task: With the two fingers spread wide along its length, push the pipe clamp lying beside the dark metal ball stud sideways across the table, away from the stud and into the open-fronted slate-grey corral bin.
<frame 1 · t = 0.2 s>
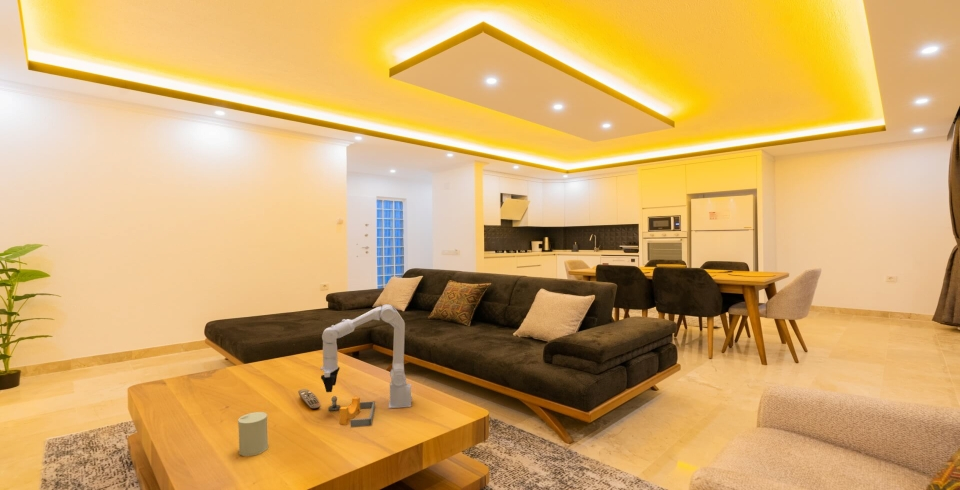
hand: (330, 388, 184), 10 cm above the table, tool pointing down, fingers open, 7 cm apart
bin: (362, 416, 179), on the table
pipe clamp: (348, 418, 178), on the table
ball stud: (334, 409, 187), on the table
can: (253, 450, 153), on the table
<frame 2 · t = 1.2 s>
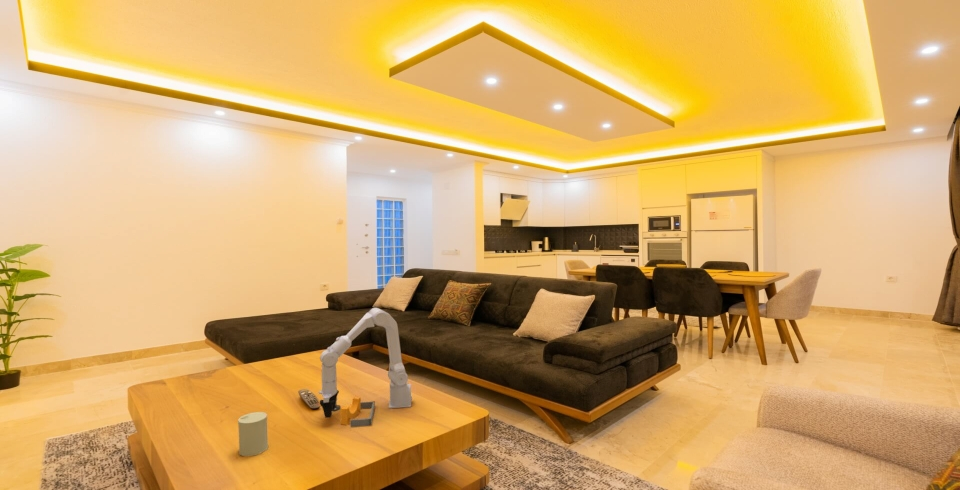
hand: (329, 413, 177), 2 cm above the table, tool pointing down, fingers open, 7 cm apart
nothing on the table moved.
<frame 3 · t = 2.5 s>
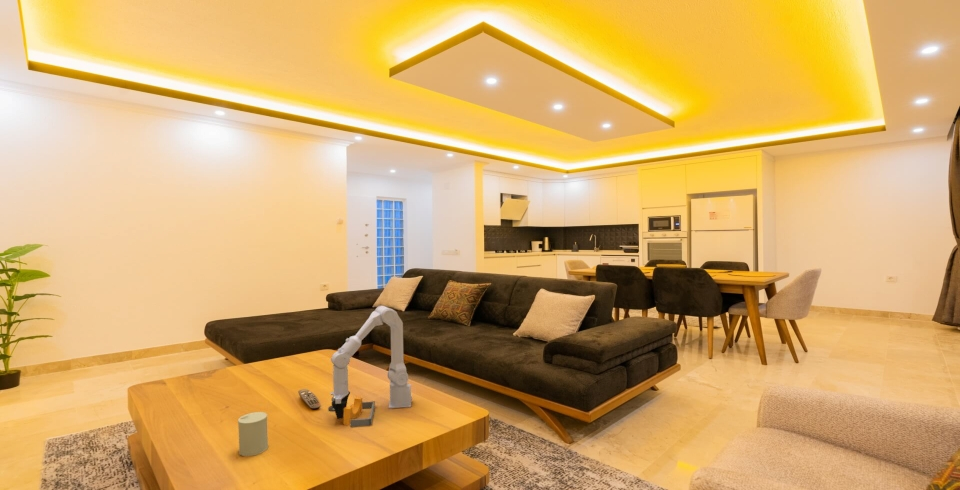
hand: (341, 414, 178), 2 cm above the table, tool pointing down, fingers open, 7 cm apart
pipe clamp: (351, 418, 178), on the table, touching gripper
everything else where it was.
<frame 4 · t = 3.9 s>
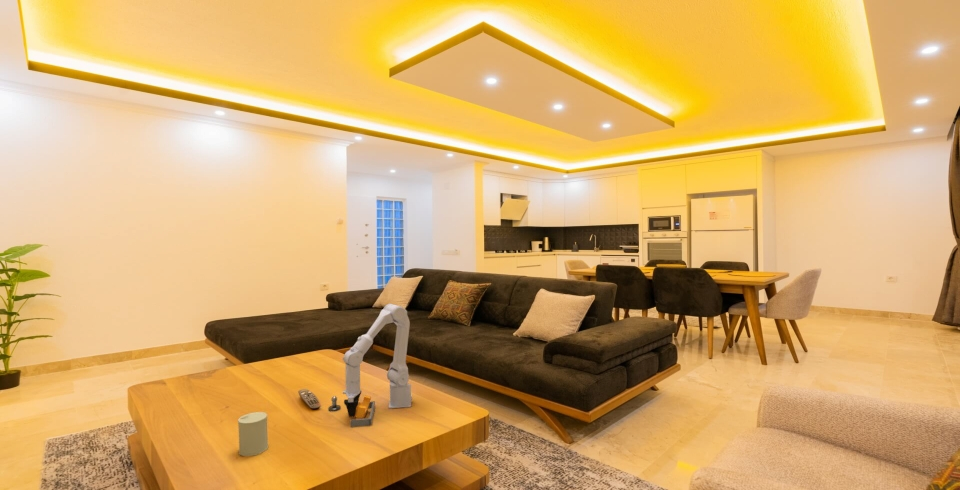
hand: (353, 413, 178), 2 cm above the table, tool pointing down, fingers open, 7 cm apart
pipe clamp: (359, 416, 178), on the table, touching gripper
everything else where it was.
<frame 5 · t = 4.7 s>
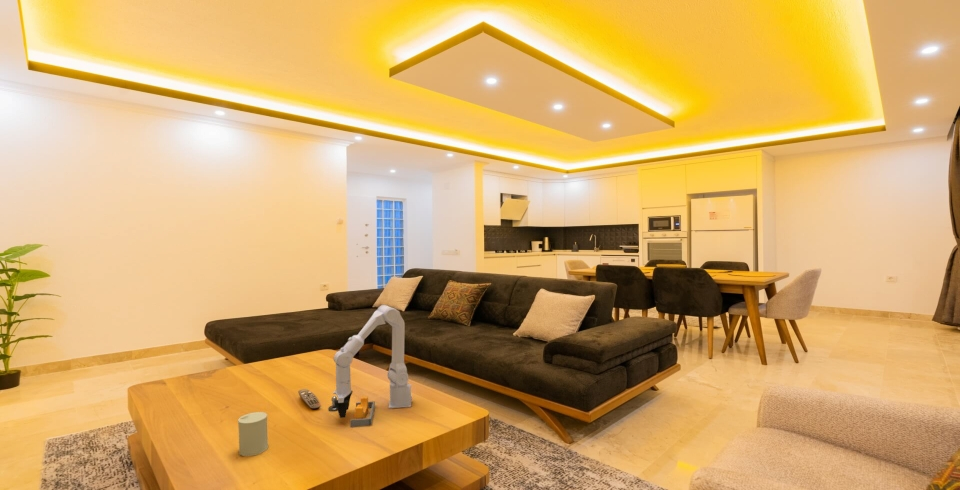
hand: (344, 413, 178), 2 cm above the table, tool pointing down, fingers open, 7 cm apart
pipe clamp: (360, 418, 178), on the table
everything else where it was.
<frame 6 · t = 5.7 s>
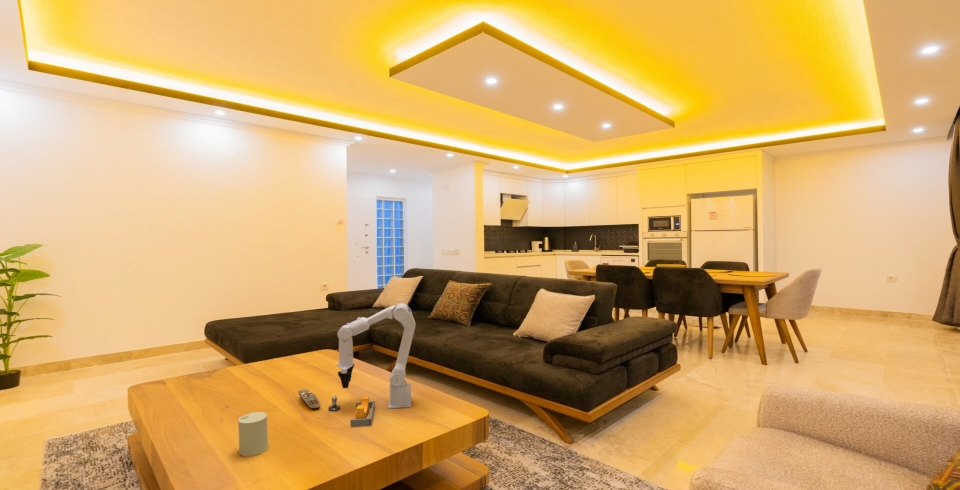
hand: (346, 384, 188), 10 cm above the table, tool pointing down, fingers open, 7 cm apart
nothing on the table moved.
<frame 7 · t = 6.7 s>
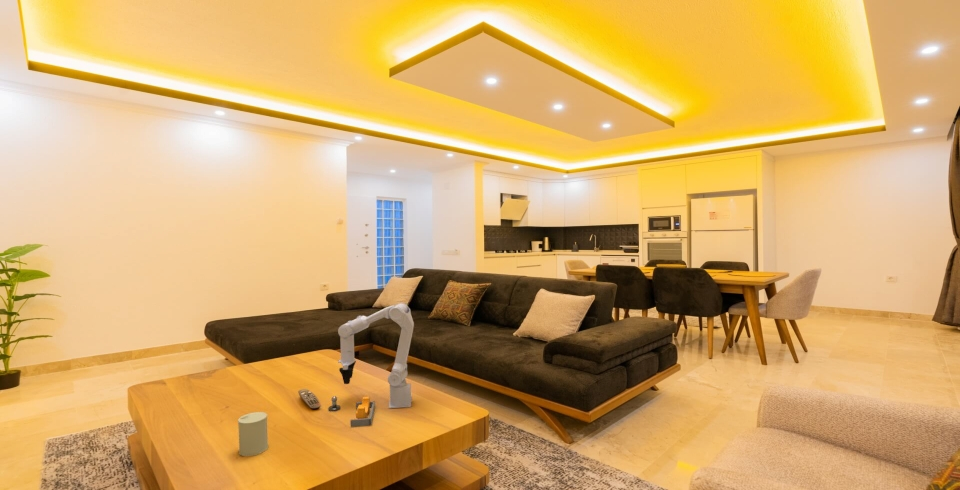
hand: (348, 380, 193), 10 cm above the table, tool pointing down, fingers open, 7 cm apart
nothing on the table moved.
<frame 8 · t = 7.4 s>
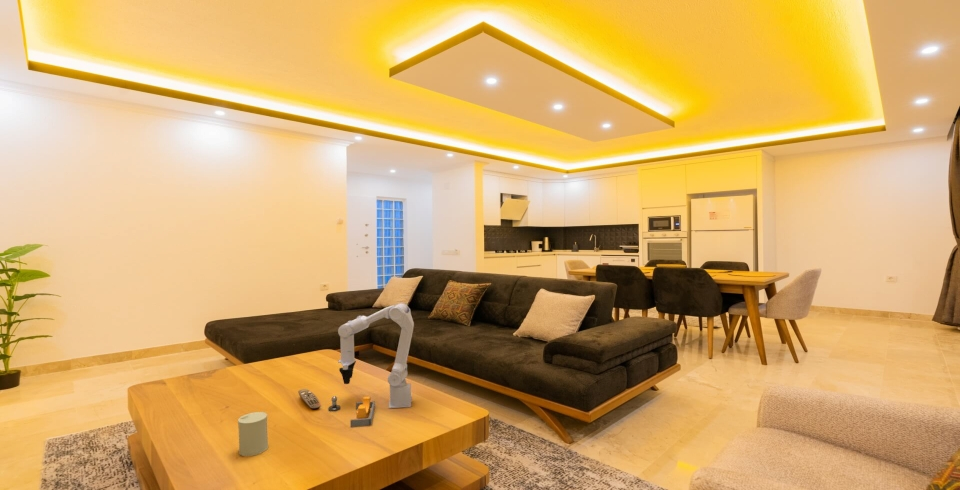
hand: (348, 380, 193), 10 cm above the table, tool pointing down, fingers open, 7 cm apart
nothing on the table moved.
at the end: pipe clamp inside the target area on the bin (1.0 cm from its centre), point 0.0 cm above the bin's base; pipe clamp moved 5.9 cm from its start; pipe clamp touching table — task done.
